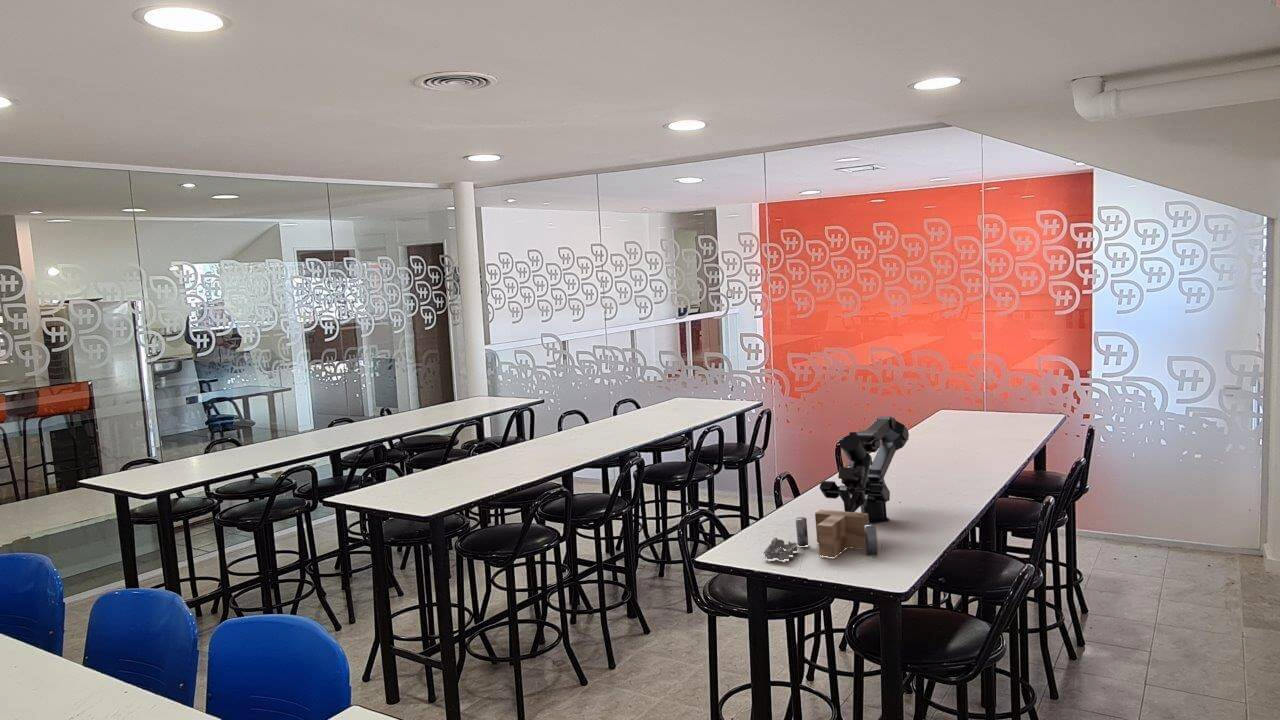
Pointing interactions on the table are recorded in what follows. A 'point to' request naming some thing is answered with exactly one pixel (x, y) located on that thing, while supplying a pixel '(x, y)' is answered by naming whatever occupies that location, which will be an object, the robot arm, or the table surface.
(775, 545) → the grey jagged rock
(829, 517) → the walnut T block
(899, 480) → the table surface
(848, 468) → the robot arm
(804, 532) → the goal posts
